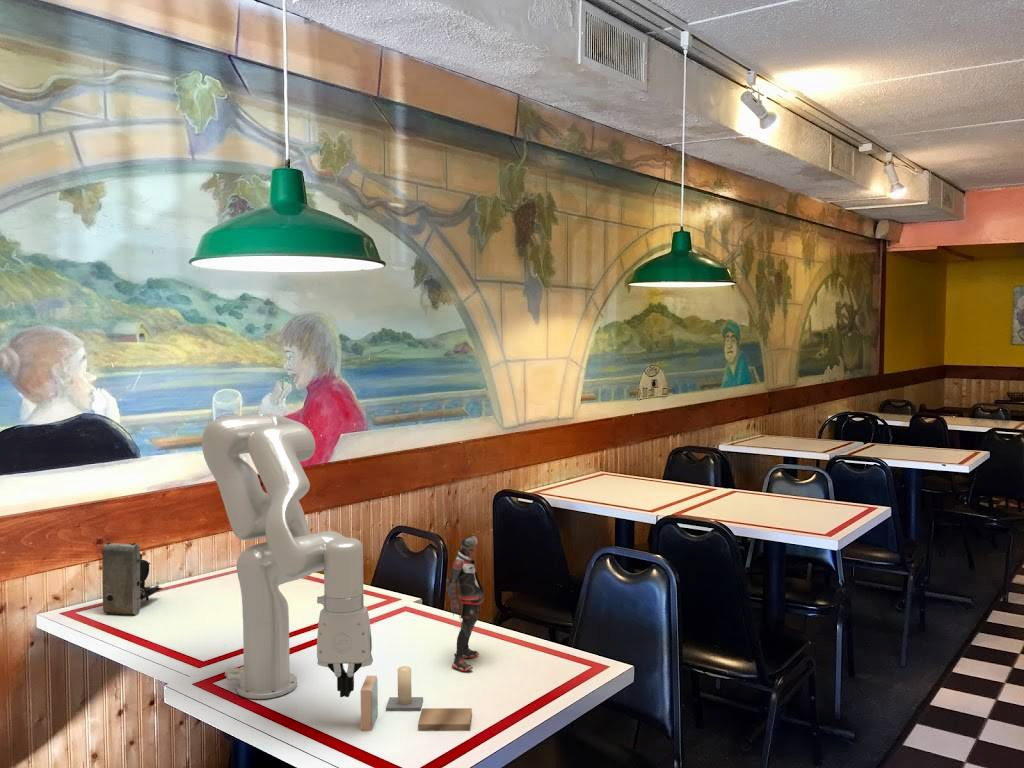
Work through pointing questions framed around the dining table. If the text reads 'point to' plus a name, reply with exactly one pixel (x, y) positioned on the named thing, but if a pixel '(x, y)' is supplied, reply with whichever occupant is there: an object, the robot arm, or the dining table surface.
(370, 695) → the tile
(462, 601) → the action figure
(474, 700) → the dining table surface
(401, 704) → the float
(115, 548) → the vintage camera
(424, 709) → the board
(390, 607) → the dining table surface
